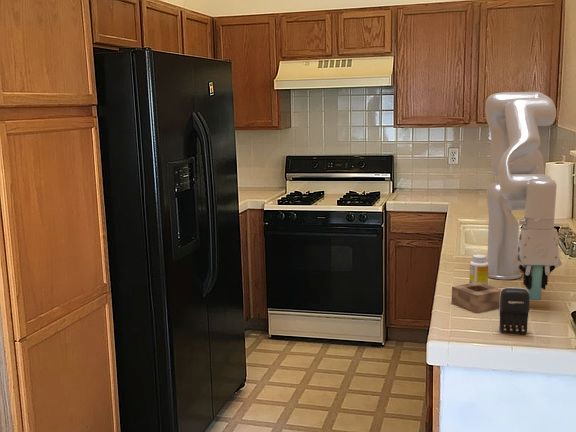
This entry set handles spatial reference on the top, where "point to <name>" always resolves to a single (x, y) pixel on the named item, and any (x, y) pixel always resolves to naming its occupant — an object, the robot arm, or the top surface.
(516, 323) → the battery charger
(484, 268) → the supplement bottle
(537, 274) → the dowel
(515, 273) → the robot arm
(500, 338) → the top surface
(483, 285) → the socket block
